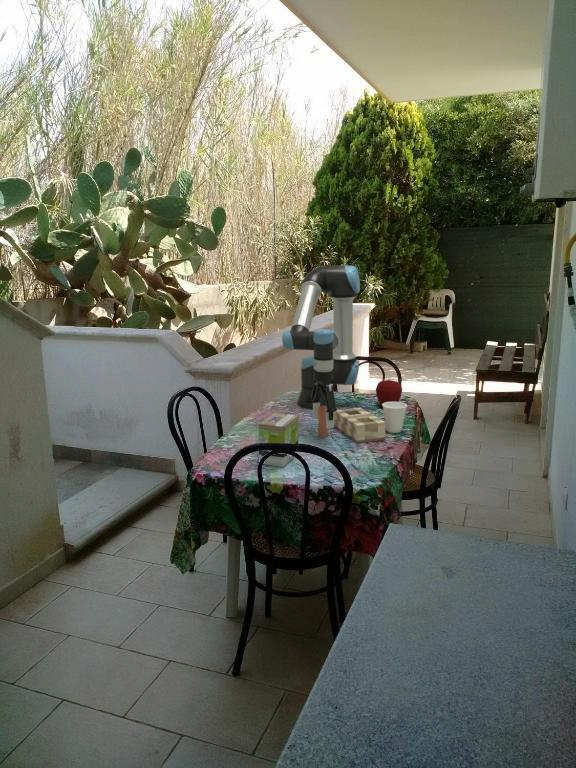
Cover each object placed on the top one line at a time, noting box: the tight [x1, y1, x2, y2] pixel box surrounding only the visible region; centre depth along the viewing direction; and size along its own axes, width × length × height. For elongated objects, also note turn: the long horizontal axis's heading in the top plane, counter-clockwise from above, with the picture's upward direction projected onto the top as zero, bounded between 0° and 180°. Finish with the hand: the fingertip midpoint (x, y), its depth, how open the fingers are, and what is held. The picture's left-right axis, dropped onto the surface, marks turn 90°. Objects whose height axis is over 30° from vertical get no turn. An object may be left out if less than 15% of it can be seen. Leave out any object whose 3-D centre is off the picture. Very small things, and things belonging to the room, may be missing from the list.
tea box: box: [258, 412, 299, 468], centre depth 206 cm, size 15×10×15 cm
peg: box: [317, 406, 329, 439], centre depth 230 cm, size 4×4×12 cm
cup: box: [381, 401, 408, 434], centre depth 236 cm, size 10×10×11 cm
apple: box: [375, 379, 403, 406], centre depth 271 cm, size 12×12×13 cm
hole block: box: [334, 407, 386, 444], centre depth 234 cm, size 22×12×7 cm, turn 19°
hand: (323, 423), depth 230 cm, fingers open, 13 cm apart
